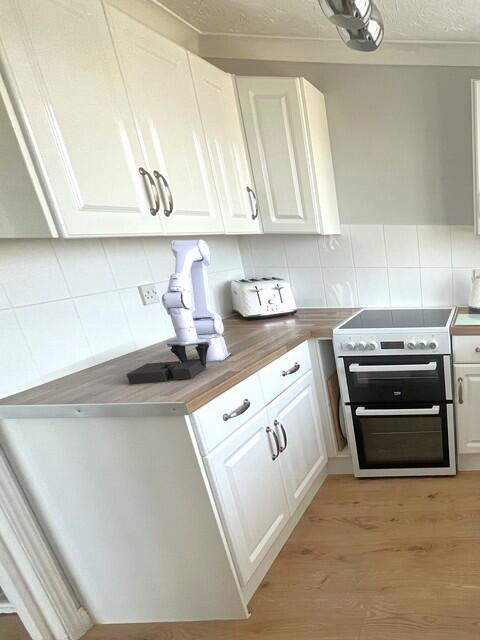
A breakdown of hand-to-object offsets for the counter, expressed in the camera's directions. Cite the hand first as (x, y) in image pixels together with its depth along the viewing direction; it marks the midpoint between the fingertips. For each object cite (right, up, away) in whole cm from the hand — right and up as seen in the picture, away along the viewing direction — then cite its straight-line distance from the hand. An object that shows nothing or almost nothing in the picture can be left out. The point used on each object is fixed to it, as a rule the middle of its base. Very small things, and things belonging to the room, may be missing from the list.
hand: (195, 365), depth 146 cm
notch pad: (-9, -4, -6) cm, 11 cm away
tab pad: (0, -3, -4) cm, 5 cm away
